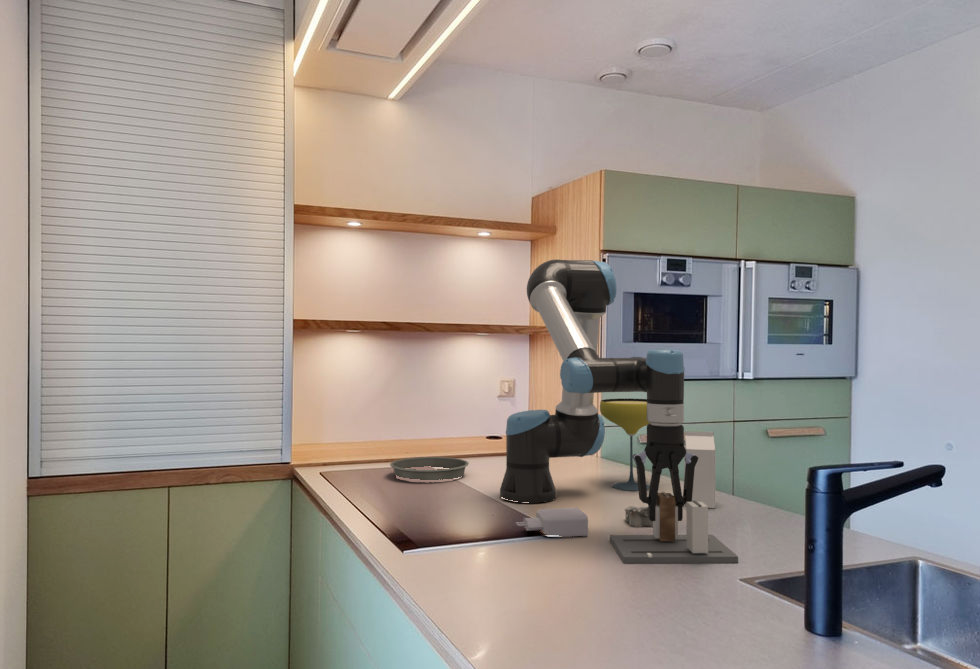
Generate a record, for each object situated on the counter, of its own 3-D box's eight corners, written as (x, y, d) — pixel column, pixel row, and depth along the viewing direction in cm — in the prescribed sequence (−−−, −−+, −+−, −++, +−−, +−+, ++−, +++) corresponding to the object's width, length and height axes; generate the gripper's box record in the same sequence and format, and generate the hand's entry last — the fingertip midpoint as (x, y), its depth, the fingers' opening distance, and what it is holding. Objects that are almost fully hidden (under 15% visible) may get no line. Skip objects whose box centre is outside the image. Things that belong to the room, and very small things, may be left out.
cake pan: (483, 479, 215) (483, 464, 215) (413, 488, 202) (413, 473, 202) (443, 466, 236) (443, 453, 236) (377, 475, 222) (377, 460, 222)
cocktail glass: (631, 478, 215) (631, 397, 215) (676, 488, 200) (676, 401, 200) (587, 485, 205) (587, 400, 205) (631, 496, 190) (631, 405, 190)
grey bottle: (512, 529, 158) (576, 526, 161) (520, 541, 149) (588, 538, 151) (512, 508, 158) (576, 506, 161) (520, 519, 149) (588, 516, 151)
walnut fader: (660, 541, 143) (660, 496, 143) (655, 535, 147) (655, 491, 147) (675, 541, 143) (675, 496, 143) (669, 535, 147) (669, 491, 147)
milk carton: (715, 509, 176) (715, 434, 176) (686, 507, 178) (686, 433, 178) (712, 502, 183) (712, 430, 183) (684, 501, 184) (684, 429, 185)
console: (624, 563, 133) (624, 555, 133) (609, 540, 149) (609, 533, 149) (738, 563, 133) (738, 555, 133) (712, 540, 149) (712, 532, 149)
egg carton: (629, 528, 159) (629, 510, 159) (623, 519, 167) (623, 502, 167) (676, 528, 159) (676, 510, 159) (667, 519, 167) (667, 502, 167)
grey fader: (692, 553, 135) (692, 505, 135) (686, 546, 139) (686, 500, 139) (708, 553, 135) (707, 505, 135) (701, 546, 139) (701, 500, 139)
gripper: (630, 425, 141) (630, 541, 141) (709, 425, 141) (709, 541, 141) (623, 421, 148) (623, 531, 148) (698, 421, 149) (698, 531, 148)
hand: (665, 536), depth 145 cm, fingers closed on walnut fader, 3 cm apart
